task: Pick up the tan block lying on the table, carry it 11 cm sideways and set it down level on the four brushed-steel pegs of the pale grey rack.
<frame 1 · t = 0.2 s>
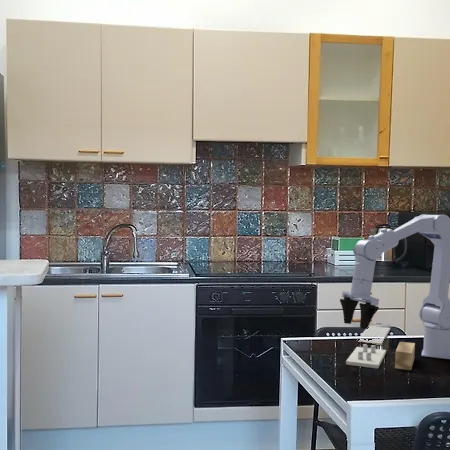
hand: (355, 325, 166), 10 cm above the table, tool pointing down, fingers open, 7 cm apart
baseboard: (371, 338, 204), on the table
tan block: (404, 364, 166), on the table
peg rack: (366, 358, 170), on the table
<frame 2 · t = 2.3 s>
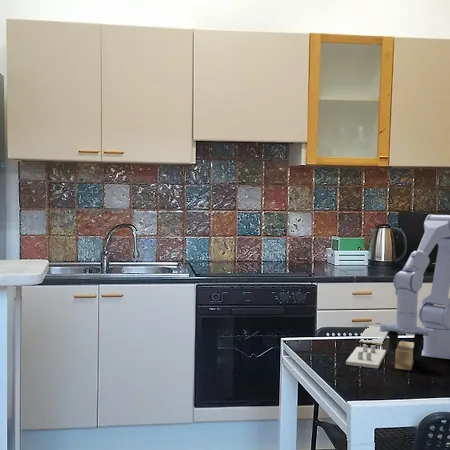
hand: (405, 358, 166), 1 cm above the table, tool pointing down, fingers closed on tan block, 4 cm apart
tan block: (405, 363, 166), on the table, touching gripper
everything else where it was.
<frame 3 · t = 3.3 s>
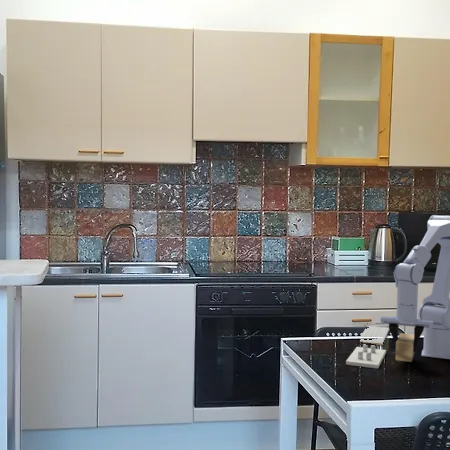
hand: (405, 350, 166), 4 cm above the table, tool pointing down, fingers closed on tan block, 4 cm apart
tan block: (405, 355, 166), point 2 cm above the table, touching gripper
everything else where it was.
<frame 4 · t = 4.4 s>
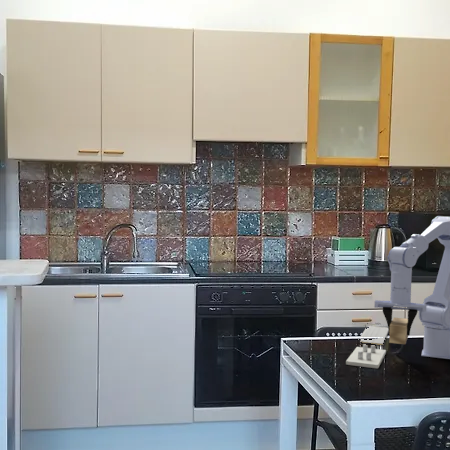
hand: (399, 333, 167), 8 cm above the table, tool pointing down, fingers closed on tan block, 4 cm apart
tan block: (399, 338, 167), point 7 cm above the table, touching gripper
everything else where it was.
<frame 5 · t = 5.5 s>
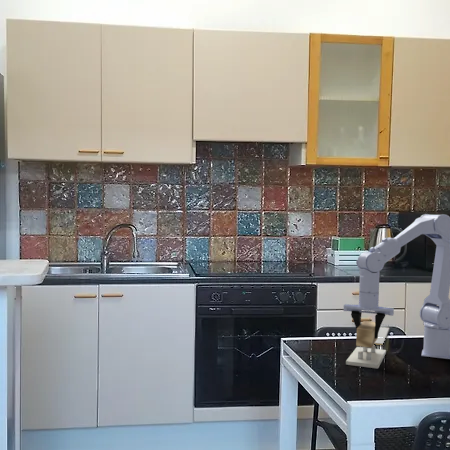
hand: (367, 337, 170), 6 cm above the table, tool pointing down, fingers closed on tan block, 4 cm apart
tan block: (367, 341, 170), point 5 cm above the table, touching gripper
everything else where it was.
when the fingers open (6 cm above the table, at t = 6.5 s): tan block drops 1 cm, resting on peg rack.
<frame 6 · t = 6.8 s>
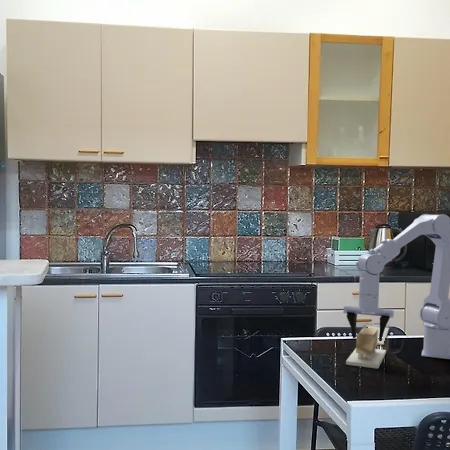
hand: (367, 339, 170), 6 cm above the table, tool pointing down, fingers open, 7 cm apart
tan block: (367, 348, 170), point 3 cm above the table, touching peg rack
everything else where it was.
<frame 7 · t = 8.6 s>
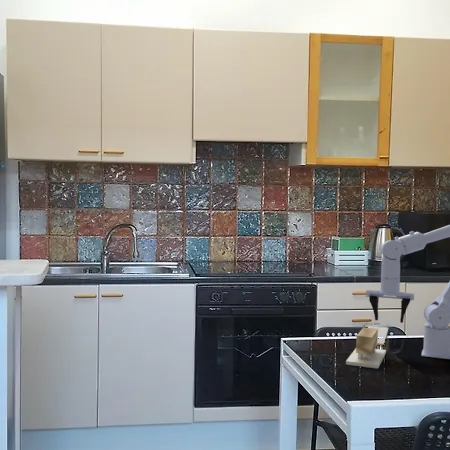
hand: (389, 321, 179), 10 cm above the table, tool pointing down, fingers open, 7 cm apart
nothing on the table moved.
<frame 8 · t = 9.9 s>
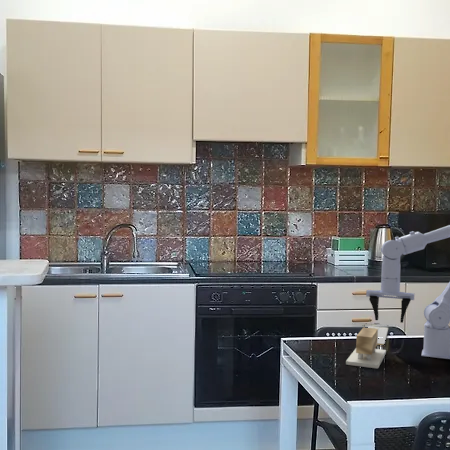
hand: (389, 320, 179), 10 cm above the table, tool pointing down, fingers open, 7 cm apart
nothing on the table moved.
at the end: tan block 0.0 cm off-centre on the peg rack, point 3.0 cm above the peg rack's base; tan block tilted 0°; tan block touching peg rack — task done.
